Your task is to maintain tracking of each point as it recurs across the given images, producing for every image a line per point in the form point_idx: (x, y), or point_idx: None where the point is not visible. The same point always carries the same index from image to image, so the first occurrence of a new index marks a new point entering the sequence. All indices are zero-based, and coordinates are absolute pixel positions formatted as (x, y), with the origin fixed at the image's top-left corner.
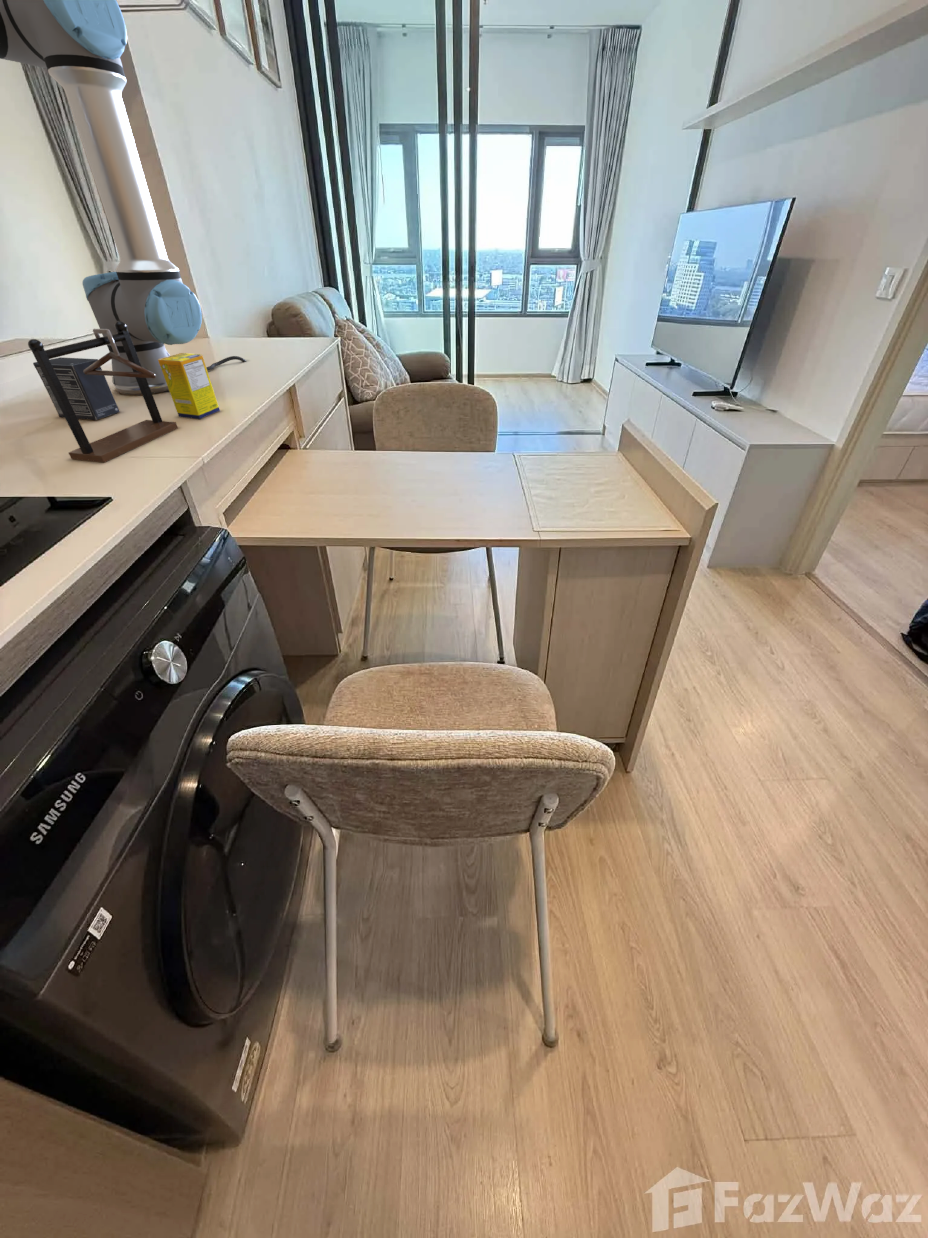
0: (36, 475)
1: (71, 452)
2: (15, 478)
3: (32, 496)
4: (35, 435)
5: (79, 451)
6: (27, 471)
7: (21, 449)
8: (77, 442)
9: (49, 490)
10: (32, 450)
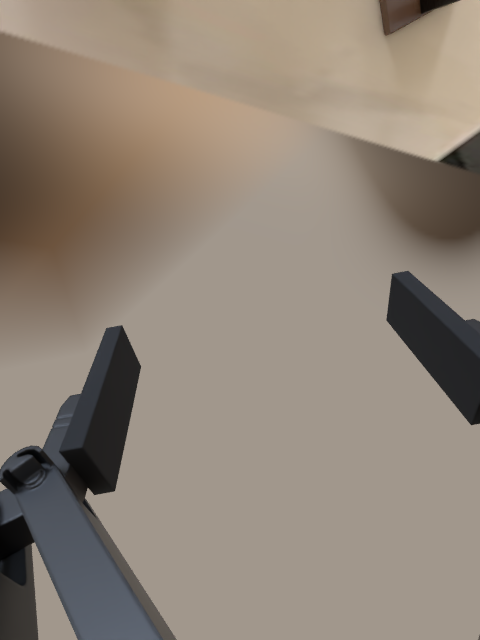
0: (398, 110)
1: (396, 29)
2: (380, 137)
3: (463, 140)
4: (177, 31)
5: (406, 14)
6: (369, 115)
7: (250, 85)
8: (433, 9)
9: (468, 116)
10: (273, 72)
